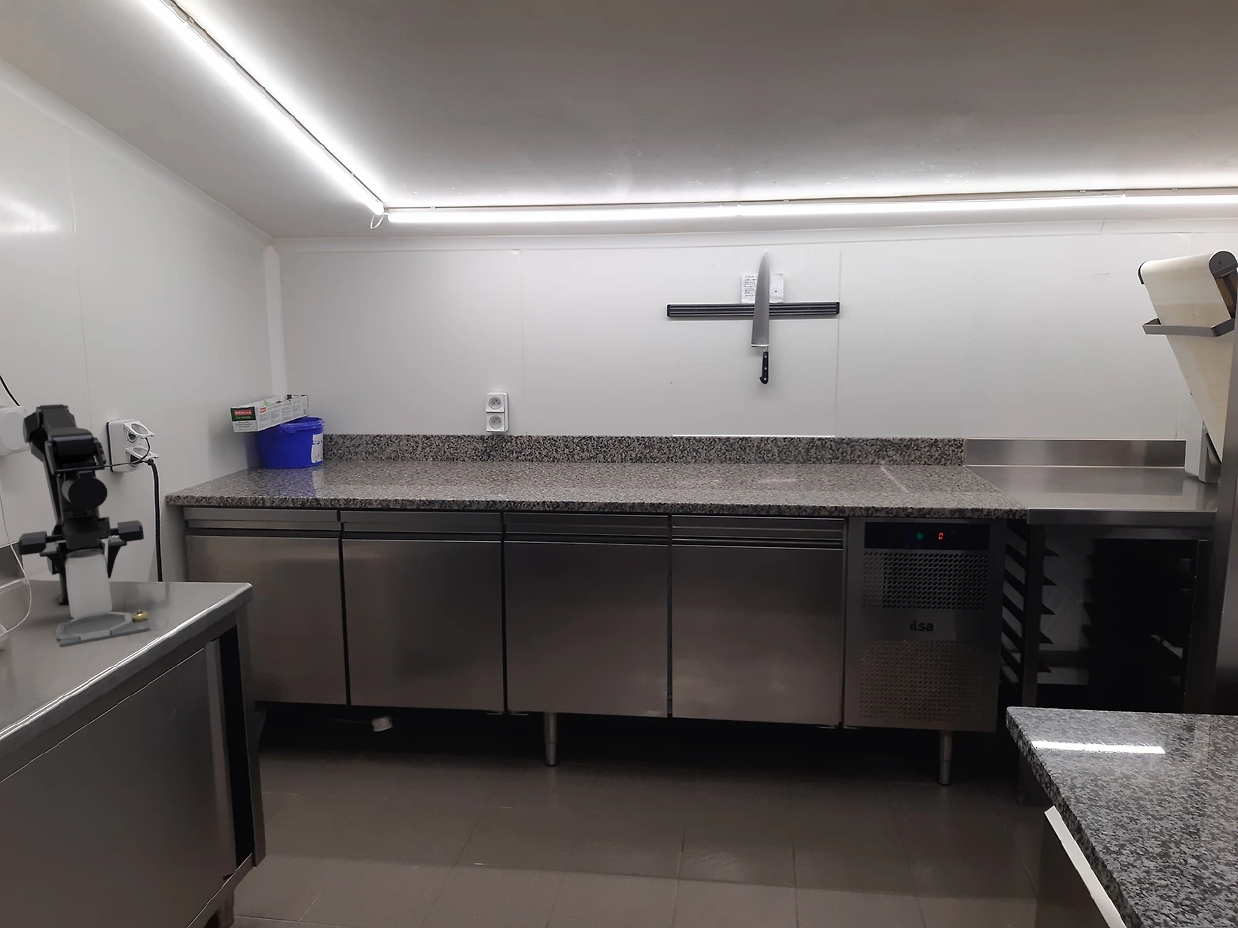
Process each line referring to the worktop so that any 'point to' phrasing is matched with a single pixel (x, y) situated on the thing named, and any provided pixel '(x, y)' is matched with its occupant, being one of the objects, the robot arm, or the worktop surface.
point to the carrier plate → (103, 625)
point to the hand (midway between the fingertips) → (88, 580)
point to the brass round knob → (139, 616)
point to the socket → (115, 629)
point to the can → (87, 583)
